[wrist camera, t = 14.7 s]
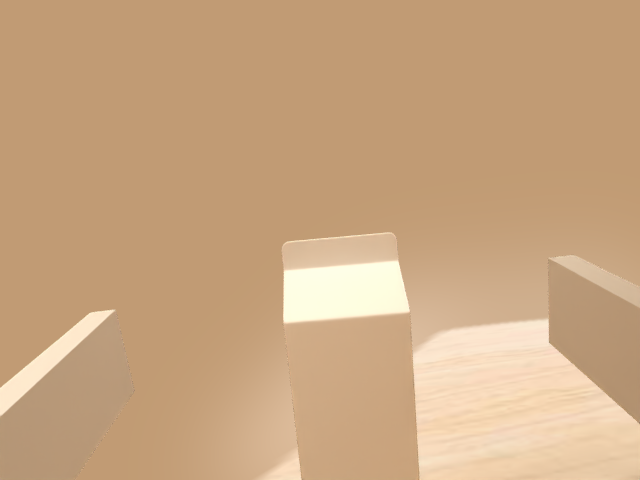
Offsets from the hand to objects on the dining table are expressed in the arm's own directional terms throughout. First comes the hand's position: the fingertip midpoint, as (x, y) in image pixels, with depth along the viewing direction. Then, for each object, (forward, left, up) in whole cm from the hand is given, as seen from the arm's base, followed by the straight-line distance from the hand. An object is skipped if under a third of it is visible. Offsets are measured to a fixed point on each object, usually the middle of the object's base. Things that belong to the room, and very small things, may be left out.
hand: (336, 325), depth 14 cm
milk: (-1, -10, -22) cm, 24 cm away
